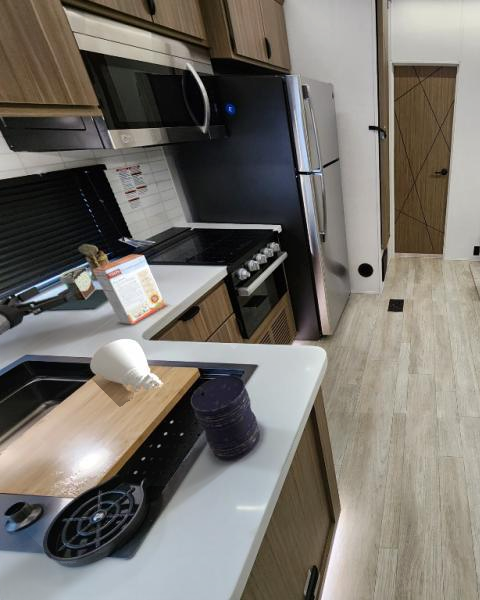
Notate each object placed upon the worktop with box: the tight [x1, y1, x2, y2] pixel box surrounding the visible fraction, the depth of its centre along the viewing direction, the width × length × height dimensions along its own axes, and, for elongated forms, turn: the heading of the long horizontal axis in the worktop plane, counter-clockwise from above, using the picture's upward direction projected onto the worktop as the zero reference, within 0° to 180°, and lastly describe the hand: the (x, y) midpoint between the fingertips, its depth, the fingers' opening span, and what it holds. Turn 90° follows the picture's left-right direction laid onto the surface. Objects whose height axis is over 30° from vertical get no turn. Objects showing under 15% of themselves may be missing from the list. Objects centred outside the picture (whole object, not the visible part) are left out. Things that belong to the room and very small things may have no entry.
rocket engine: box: [89, 338, 164, 393], centre depth 87 cm, size 12×12×18 cm
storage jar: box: [190, 375, 261, 462], centre depth 69 cm, size 10×10×15 cm
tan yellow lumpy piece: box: [77, 243, 111, 281], centre depth 145 cm, size 9×14×18 cm, turn 33°
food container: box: [59, 266, 97, 300], centre depth 131 cm, size 12×6×10 cm, turn 20°
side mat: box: [47, 288, 109, 312], centre depth 131 cm, size 20×16×1 cm
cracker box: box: [93, 253, 166, 325], centre depth 116 cm, size 14×6×21 cm, turn 165°
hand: (56, 289), depth 121 cm, fingers open, 13 cm apart
